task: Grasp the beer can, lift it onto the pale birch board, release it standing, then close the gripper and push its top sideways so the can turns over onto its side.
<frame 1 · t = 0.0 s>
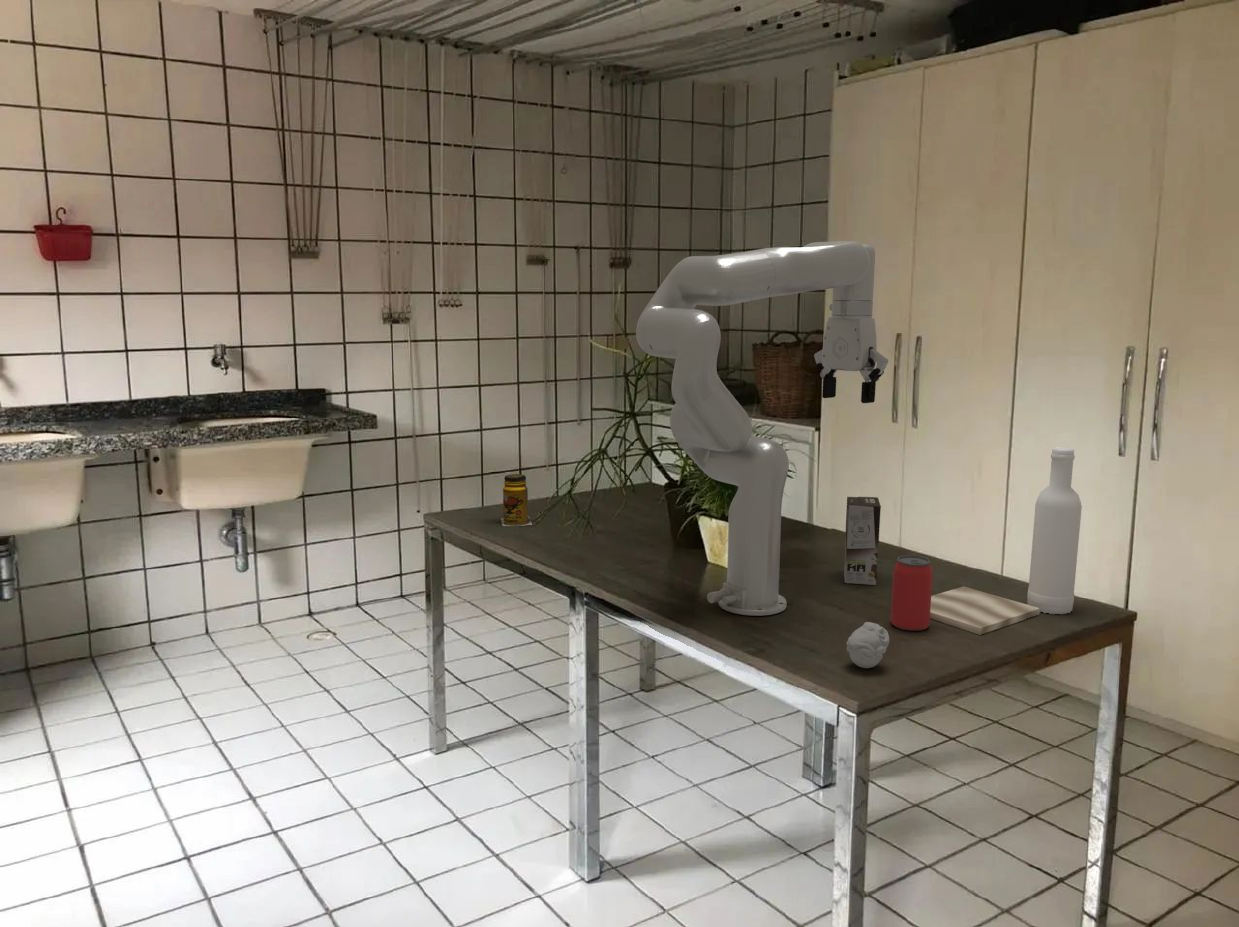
hand: (847, 400, 193), 37 cm above the table, tool pointing down, fingers open, 9 cm apart
frog figurine: (866, 667, 157), on the table
bottle: (1049, 608, 185), on the table
condiment: (516, 523, 248), on the table
coffee box: (859, 579, 203), on the table
beer can: (909, 626, 175), on the table
birch board: (971, 612, 182), on the table
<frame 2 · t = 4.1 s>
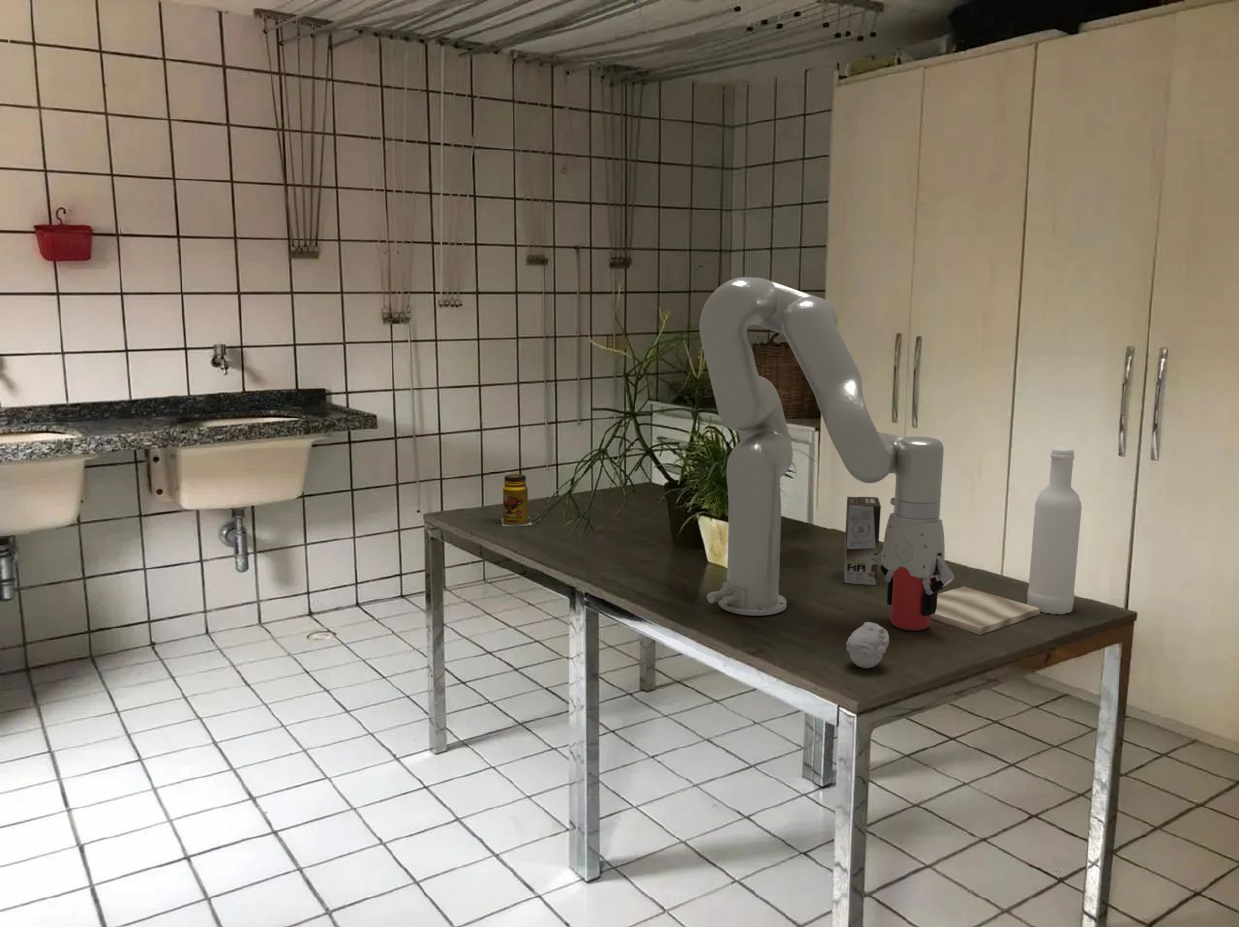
hand: (911, 608, 175), 3 cm above the table, tool pointing down, fingers closed on beer can, 6 cm apart
beer can: (909, 626, 175), on the table, touching gripper
everything else where it was.
when the fingers open (5 cm above the table, at t = 9.1 s): beer can stays where it is, resting on birch board.
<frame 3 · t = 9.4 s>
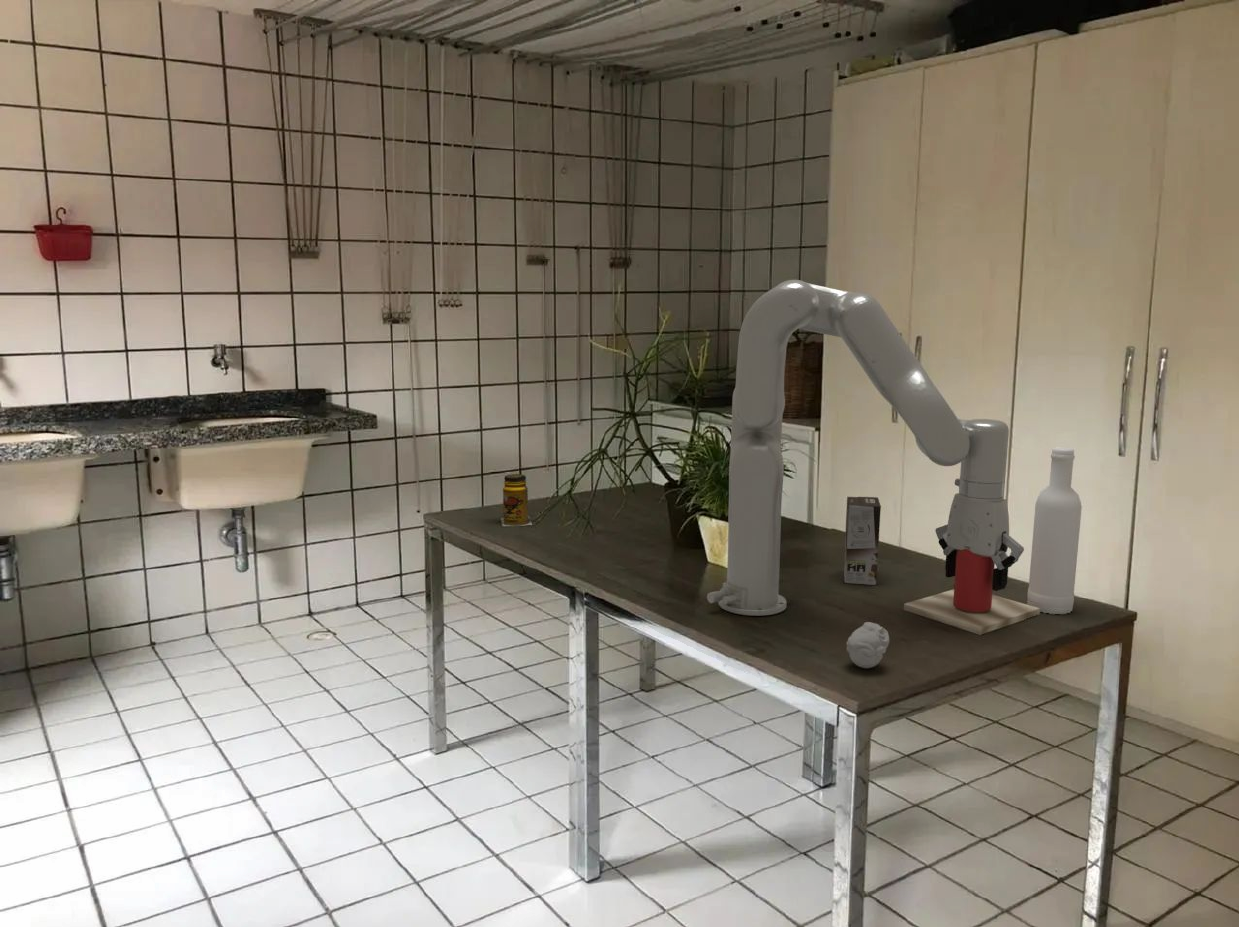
hand: (974, 582, 180), 6 cm above the table, tool pointing down, fingers open, 9 cm apart
beer can: (971, 609, 181), point 1 cm above the table, touching birch board
everything else where it was.
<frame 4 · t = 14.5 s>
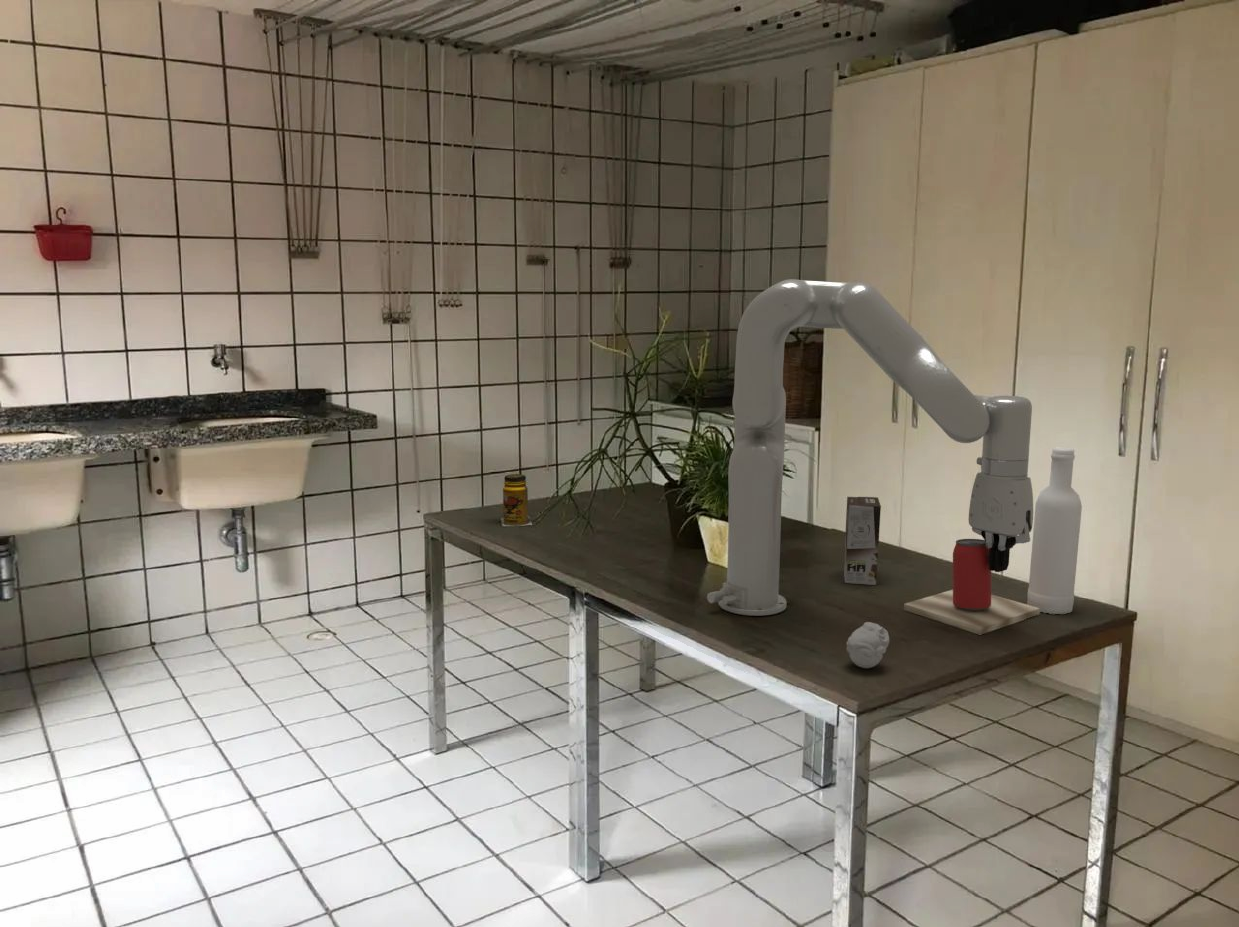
hand: (998, 569, 176), 9 cm above the table, tool pointing down, fingers closed
beer can: (971, 607, 181), point 1 cm above the table, touching birch board, gripper
everything else where it was.
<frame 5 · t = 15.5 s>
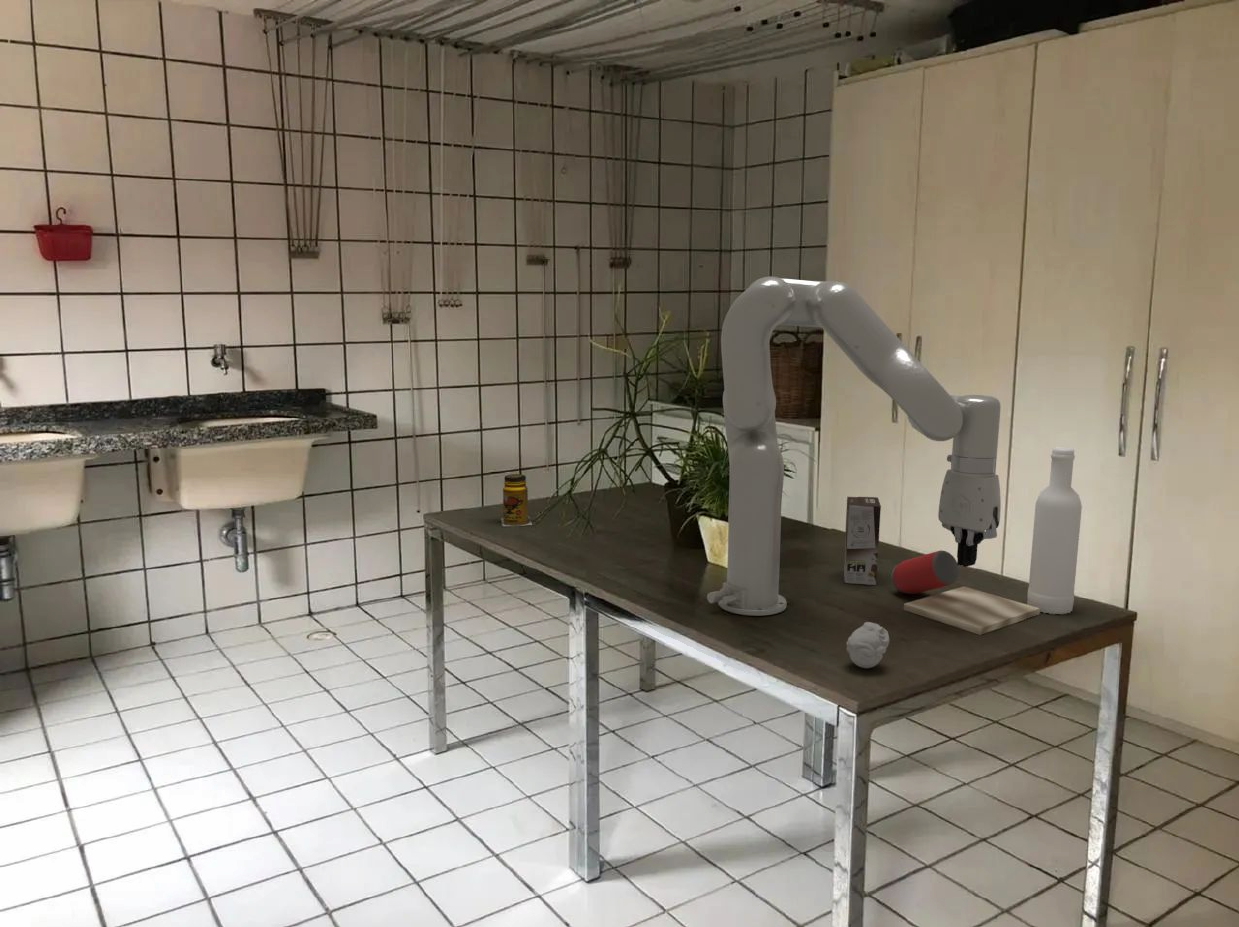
hand: (966, 564, 181), 9 cm above the table, tool pointing down, fingers closed
beer can: (948, 566, 184), point 8 cm above the table
everything else where it was.
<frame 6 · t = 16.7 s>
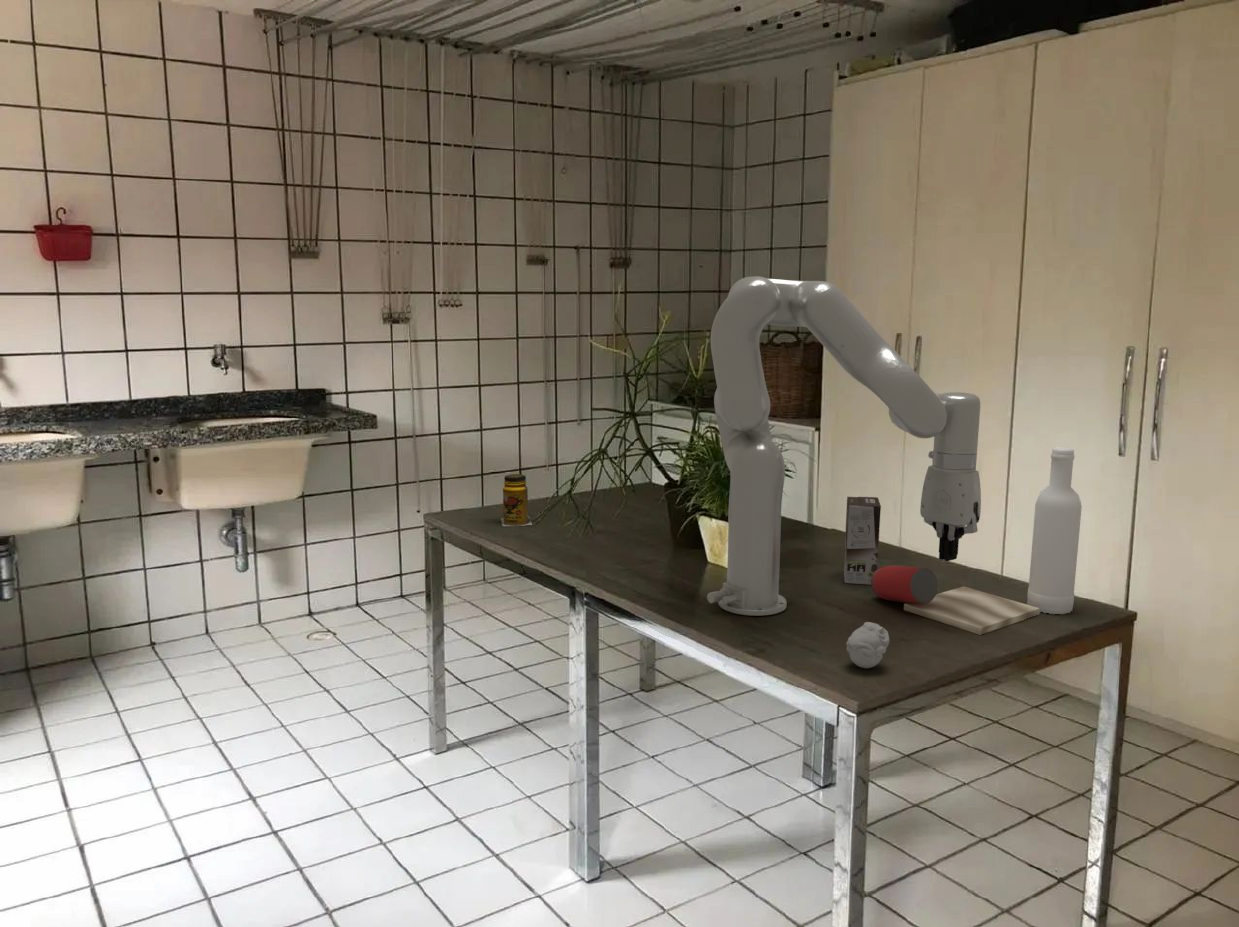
hand: (947, 559, 184), 9 cm above the table, tool pointing down, fingers closed
beer can: (926, 585, 180), point 5 cm above the table, touching birch board
everything else where it was.
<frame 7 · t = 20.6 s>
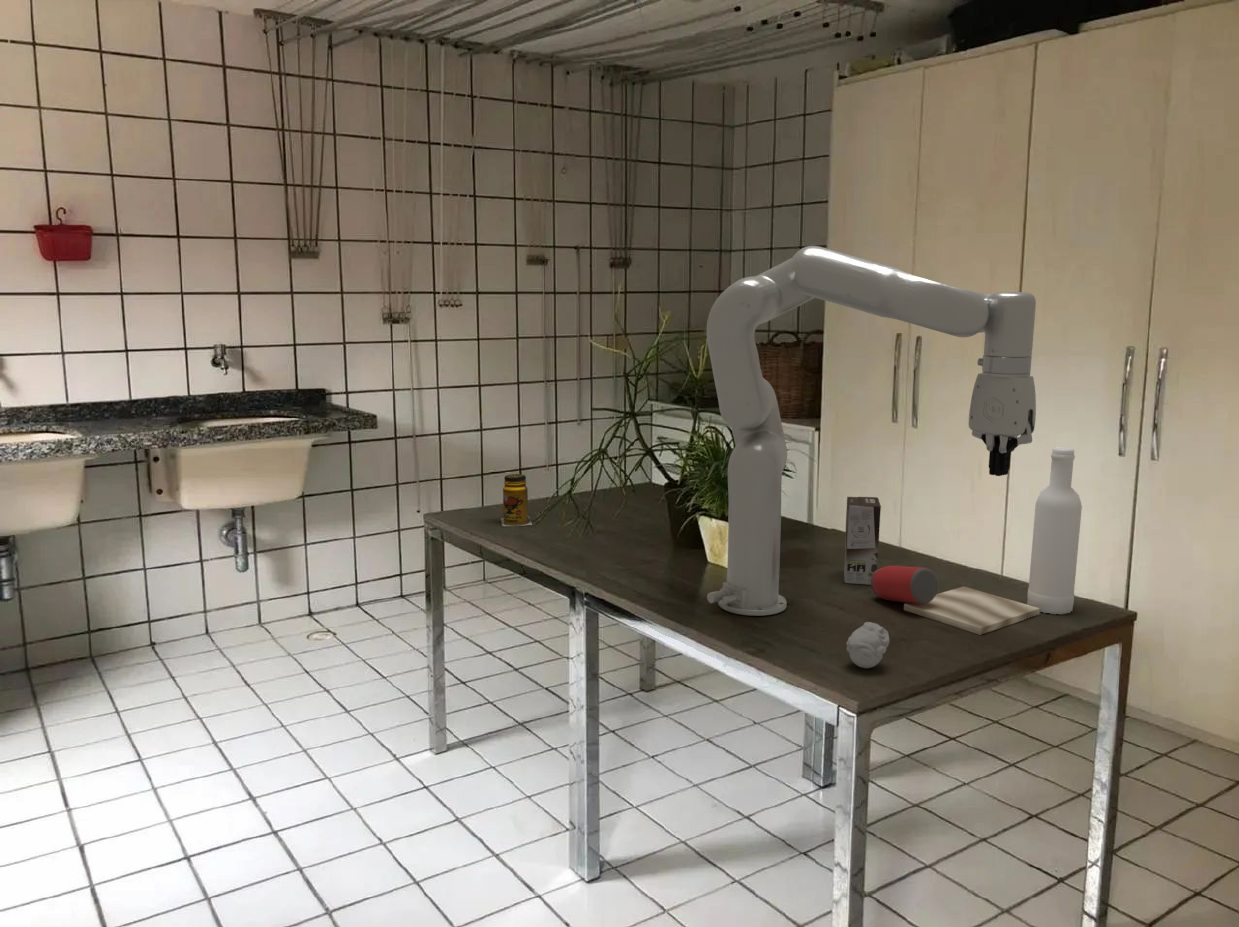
hand: (998, 474, 170), 27 cm above the table, tool pointing down, fingers closed
nothing on the table moved.
at the end: beer can tilted 103°; beer can inside the target area (8.7 cm from its centre), point 5.5 cm above the table; the gripper is holding nothing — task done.
